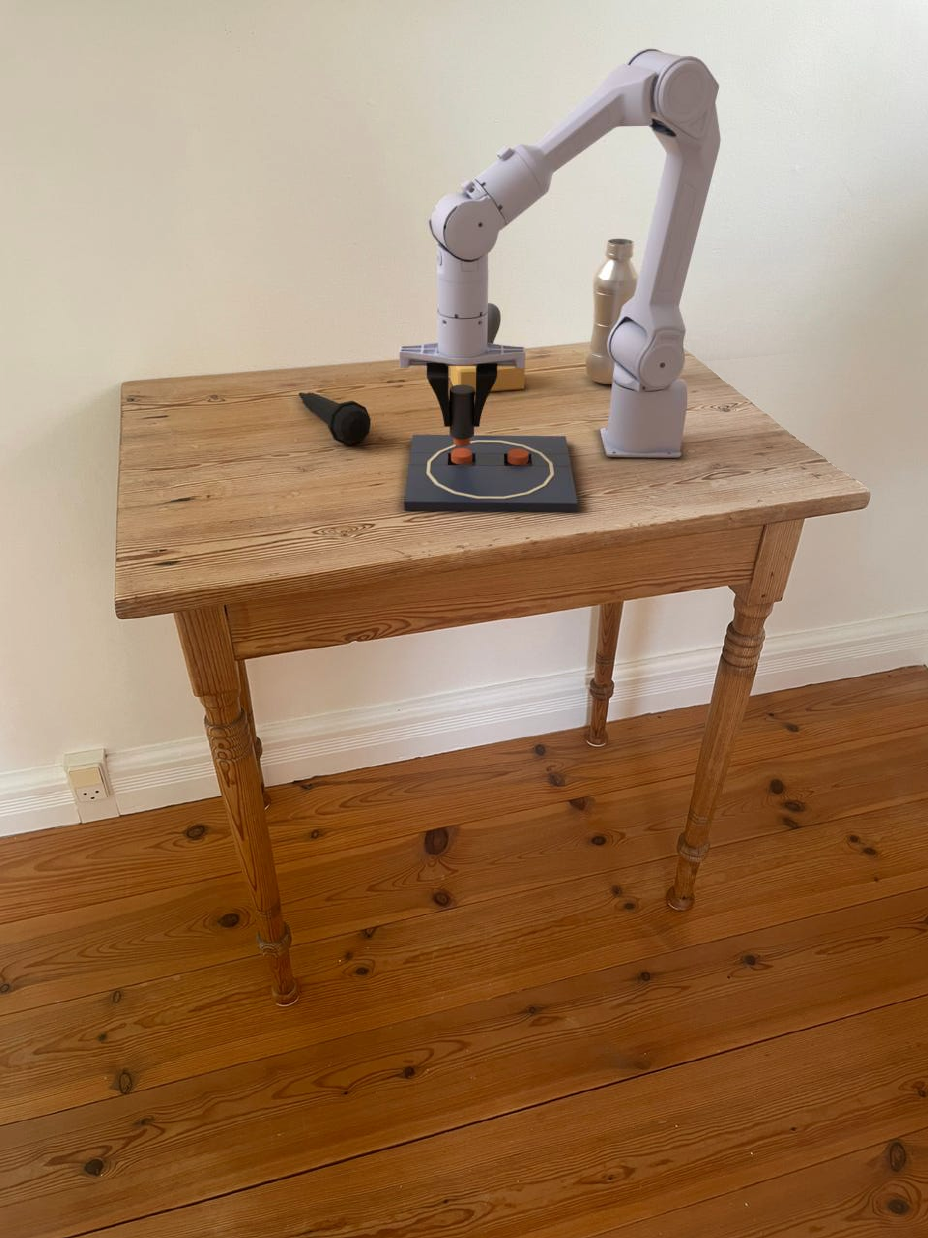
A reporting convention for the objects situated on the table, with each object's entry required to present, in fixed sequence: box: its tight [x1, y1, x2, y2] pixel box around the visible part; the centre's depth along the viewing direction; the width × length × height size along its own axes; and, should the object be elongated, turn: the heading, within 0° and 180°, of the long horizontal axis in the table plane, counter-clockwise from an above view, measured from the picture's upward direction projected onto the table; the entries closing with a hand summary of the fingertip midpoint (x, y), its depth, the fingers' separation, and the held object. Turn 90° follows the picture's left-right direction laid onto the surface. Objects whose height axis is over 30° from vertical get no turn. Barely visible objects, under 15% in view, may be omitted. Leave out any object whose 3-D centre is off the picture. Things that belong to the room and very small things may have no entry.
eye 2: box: [507, 449, 529, 466], centre depth 114 cm, size 3×3×1 cm
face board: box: [403, 434, 579, 513], centre depth 113 cm, size 20×18×1 cm
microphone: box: [298, 391, 372, 446], centre depth 125 cm, size 6×6×20 cm
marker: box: [449, 385, 476, 447], centre depth 111 cm, size 3×3×7 cm
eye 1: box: [451, 448, 472, 465], centre depth 114 cm, size 3×3×1 cm
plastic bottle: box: [585, 238, 639, 385], centre depth 133 cm, size 6×7×20 cm
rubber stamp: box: [450, 302, 526, 394], centre depth 134 cm, size 10×6×12 cm, turn 103°
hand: (462, 423), depth 112 cm, fingers closed on marker, 3 cm apart
